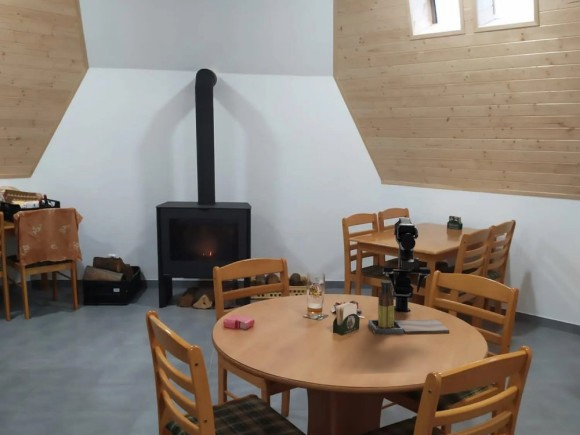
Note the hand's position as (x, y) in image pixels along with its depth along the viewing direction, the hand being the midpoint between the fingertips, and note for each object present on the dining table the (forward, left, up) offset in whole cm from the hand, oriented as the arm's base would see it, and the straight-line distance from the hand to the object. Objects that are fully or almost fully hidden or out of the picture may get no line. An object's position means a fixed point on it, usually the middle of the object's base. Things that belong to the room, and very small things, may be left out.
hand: (405, 292), depth 206 cm
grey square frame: (+2, -8, -15) cm, 17 cm away
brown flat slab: (+1, +7, -15) cm, 16 cm away
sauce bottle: (+2, -8, -15) cm, 17 cm away
